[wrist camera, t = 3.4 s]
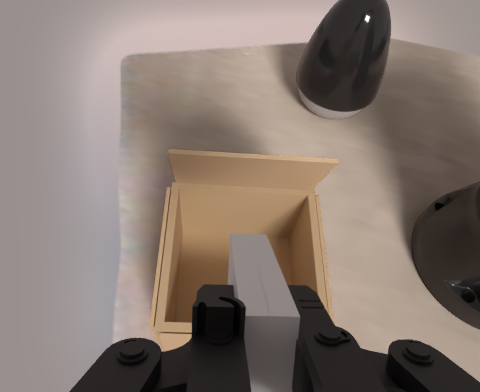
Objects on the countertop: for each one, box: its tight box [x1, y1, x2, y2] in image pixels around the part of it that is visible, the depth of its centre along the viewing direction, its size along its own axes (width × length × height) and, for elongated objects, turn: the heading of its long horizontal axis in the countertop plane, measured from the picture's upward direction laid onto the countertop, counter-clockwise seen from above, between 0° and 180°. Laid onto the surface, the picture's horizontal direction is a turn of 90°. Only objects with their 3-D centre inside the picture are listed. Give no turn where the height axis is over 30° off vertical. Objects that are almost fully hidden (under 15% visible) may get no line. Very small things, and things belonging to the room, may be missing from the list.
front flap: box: [168, 149, 338, 190], centre depth 29 cm, size 11×7×1 cm
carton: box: [149, 182, 334, 352], centre depth 33 cm, size 13×12×9 cm
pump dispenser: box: [296, 0, 391, 120], centre depth 45 cm, size 10×10×15 cm
